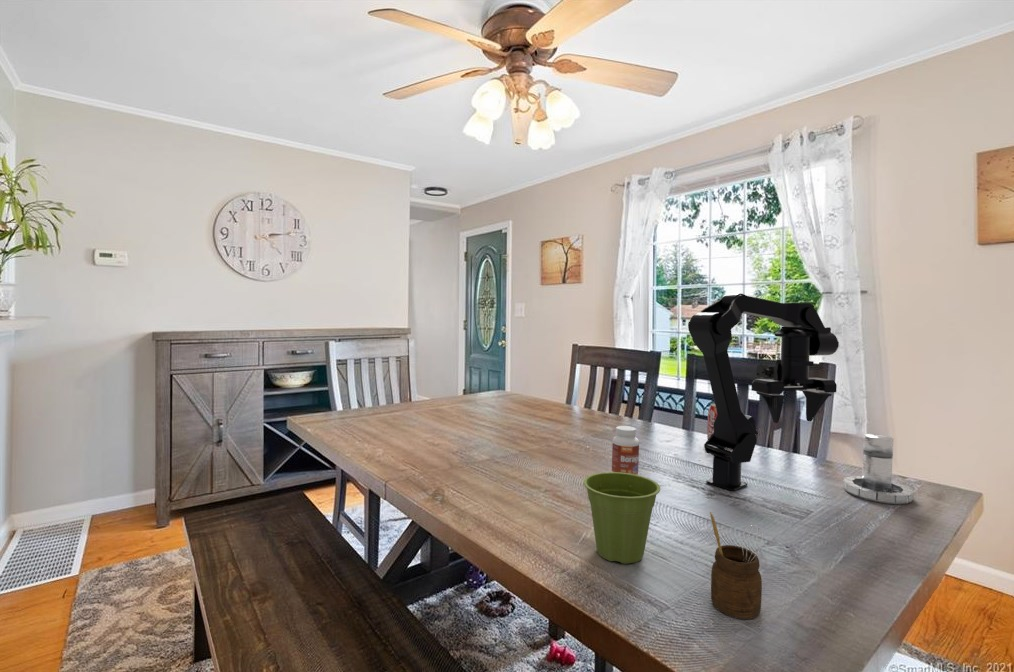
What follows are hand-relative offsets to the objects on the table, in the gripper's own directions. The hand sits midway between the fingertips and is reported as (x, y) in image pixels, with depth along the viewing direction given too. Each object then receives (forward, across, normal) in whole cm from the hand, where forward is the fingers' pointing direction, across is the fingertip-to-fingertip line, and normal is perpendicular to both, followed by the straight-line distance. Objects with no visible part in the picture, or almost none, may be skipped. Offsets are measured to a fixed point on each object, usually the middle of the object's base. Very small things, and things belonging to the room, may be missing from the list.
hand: (792, 421), depth 113 cm
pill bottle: (+13, +38, -8) cm, 41 cm away
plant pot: (+13, +56, +26) cm, 63 cm away
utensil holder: (+13, +48, +42) cm, 65 cm away
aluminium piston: (+13, -9, +13) cm, 20 cm away
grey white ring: (+13, -10, +13) cm, 21 cm away
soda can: (+13, -1, -27) cm, 30 cm away
